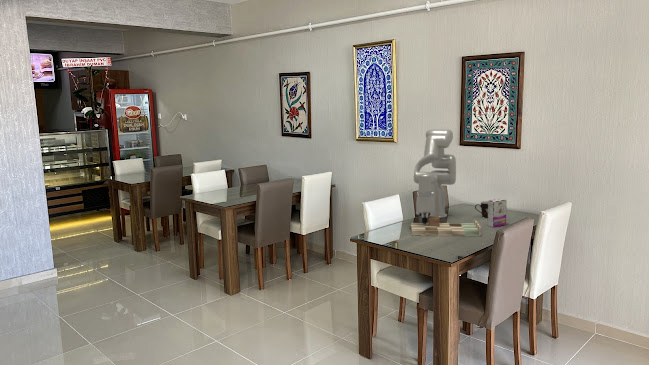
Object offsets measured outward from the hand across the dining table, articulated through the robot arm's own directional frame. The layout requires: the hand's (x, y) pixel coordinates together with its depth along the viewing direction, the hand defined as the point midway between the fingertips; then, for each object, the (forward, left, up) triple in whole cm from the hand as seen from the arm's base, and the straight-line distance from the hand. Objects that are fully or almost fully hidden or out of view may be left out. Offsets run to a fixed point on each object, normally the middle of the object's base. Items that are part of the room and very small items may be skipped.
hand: (424, 223), depth 297 cm
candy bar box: (-12, +45, -4) cm, 47 cm away
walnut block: (0, +6, -1) cm, 6 cm away
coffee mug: (-36, +42, -4) cm, 56 cm away
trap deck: (+4, +11, -4) cm, 12 cm away
